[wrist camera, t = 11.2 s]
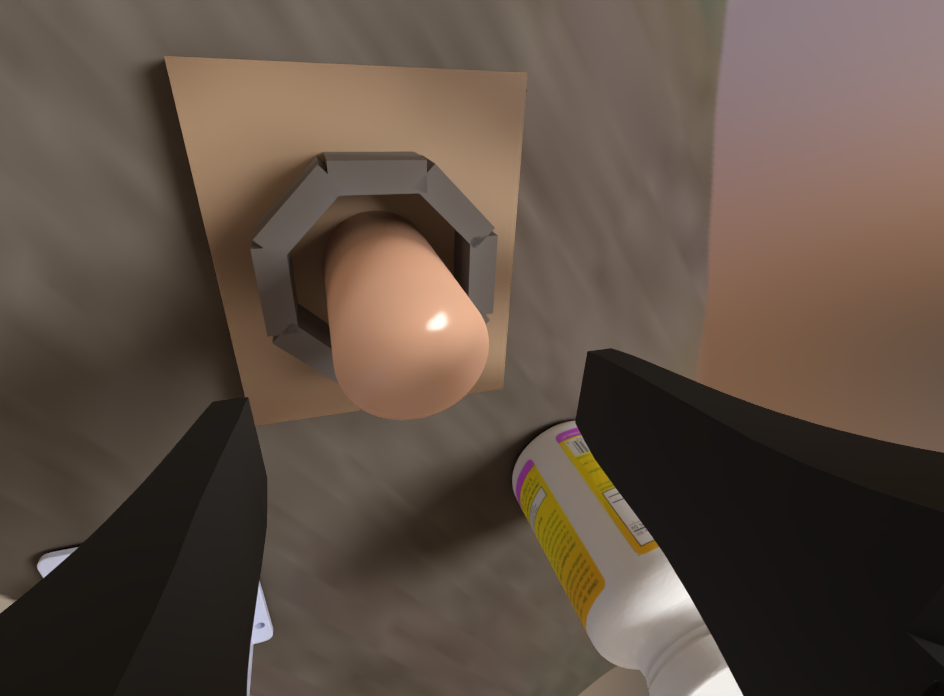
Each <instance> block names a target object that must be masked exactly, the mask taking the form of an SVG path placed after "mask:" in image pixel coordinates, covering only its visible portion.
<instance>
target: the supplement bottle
mask: <svg viewBox="0 0 944 696" xmlns="http://www.w3.org/2000/svg"><path fill="white" fill-rule="evenodd" d="M512 486H513V491H514V494H515V496H516V499H517V501H518V503H519V505H520V507H521V509H522V511H523V513H524V514H525V516H526V518H527V520H528V522H529V524H530V526H531V528H532V530H533V532H534V533H535V535H536V537H537V539H538V541H539V543H540V545H541V547H542V549H543V550H544V552H545V554H546V556H547V558H548V560H549V562H550V564H551V566H552V567H553V570H554V572H555V573H556V575H557V577H558V579H559V581H560V583H561V585H562V587H563V588H564V590H565V592H566V594H567V596H568V598H569V600H570V602H571V603H572V605H573V607H574V609H575V611H576V613H577V615H578V617H579V619H580V621H581V623H582V625H583V627H584V628H585V630H586V632H587V634H588V636H589V638H590V639H591V641H592V643H593V645H594V646H595V648H596V649H597V651H598V652H599V653H600V654H601V655H602V656H603V657H604V658H605V659H607V660H608V661H609V662H611V663H613V664H615V665H617V666H620V667H623V668H628V669H640V670H641V672H642V673H643V675H644V676H645V678H646V679H647V681H646V683H647V687H648V689H649V696H743V694H742V692H741V690H740V689H739V687H738V685H737V683H736V681H735V679H734V677H733V675H732V673H731V671H730V669H729V667H728V665H727V663H726V662H725V660H724V658H723V656H722V654H721V652H720V650H719V648H718V646H717V644H716V642H715V640H714V639H713V637H712V635H711V633H710V632H709V630H708V628H707V626H706V624H705V623H704V621H703V619H702V617H701V616H700V614H699V612H698V610H697V608H696V607H695V605H694V603H693V601H692V599H691V598H690V596H689V594H688V593H687V591H686V589H685V588H684V586H683V584H682V583H681V581H680V579H679V578H678V576H677V574H676V573H675V571H674V569H673V568H672V566H671V564H670V563H669V561H668V559H667V558H666V556H665V555H664V553H663V552H662V550H661V549H660V547H659V546H658V544H657V543H656V542H655V540H654V539H653V537H652V536H651V535H650V533H649V532H648V530H647V529H646V528H645V526H644V525H643V524H642V522H641V521H640V520H639V518H638V517H637V516H636V514H635V513H634V512H633V510H632V509H631V508H630V506H629V505H628V504H627V502H626V501H625V500H624V498H623V497H622V496H621V494H620V493H619V492H618V490H617V489H616V488H615V486H614V485H613V484H612V482H611V481H610V480H609V478H608V477H607V476H606V474H605V473H604V471H603V470H602V469H601V467H600V466H599V465H598V463H597V462H596V460H595V459H594V457H593V455H592V454H591V452H590V450H589V448H588V447H587V445H586V443H585V441H584V439H583V437H582V435H581V433H580V431H579V430H578V428H577V426H576V424H575V421H569V422H564V423H561V424H558V425H556V426H553V427H551V428H549V429H548V430H546V431H544V432H543V433H541V434H540V435H539V436H537V437H536V438H535V439H534V440H533V441H531V442H530V443H529V445H528V446H527V447H526V448H525V449H524V450H523V452H522V453H521V455H520V456H519V458H518V460H517V462H516V464H515V467H514V470H513V475H512Z"/></svg>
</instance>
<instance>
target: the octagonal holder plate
mask: <svg viewBox="0 0 944 696" xmlns="http://www.w3.org/2000/svg"><path fill="white" fill-rule="evenodd" d="M164 58H165V63H166V67H167V71H168V75H169V79H170V84H171V88H172V92H173V96H174V100H175V105H176V109H177V113H178V117H179V121H180V126H181V130H182V134H183V138H184V143H185V147H186V151H187V155H188V159H189V164H190V168H191V172H192V176H193V180H194V185H195V189H196V193H197V197H198V201H199V206H200V210H201V214H202V218H203V222H204V227H205V231H206V235H207V239H208V243H209V248H210V252H211V256H212V260H213V264H214V269H215V273H216V277H217V281H218V285H219V290H220V294H221V298H222V302H223V306H224V311H225V315H226V319H227V323H228V327H229V332H230V336H231V340H232V344H233V349H234V353H235V357H236V361H237V365H238V370H239V374H240V378H241V382H242V386H243V391H244V395H245V397H248V398H249V402H250V406H251V411H252V415H253V419H254V424H255V426H259V425H266V424H272V423H279V422H286V421H292V420H299V419H306V418H312V417H319V416H325V415H332V414H339V413H345V412H352V411H359V410H362V409H361V408H360V407H358V406H357V405H355V404H354V403H353V402H352V401H351V400H350V399H349V398H348V397H347V396H346V394H345V393H344V392H343V390H342V389H341V387H340V385H339V383H338V380H337V378H336V375H335V370H334V364H333V355H332V346H331V337H330V328H329V319H328V310H327V301H326V292H325V283H324V274H323V262H322V261H323V253H324V248H325V246H326V243H327V241H328V239H329V237H330V235H331V234H332V233H333V231H334V230H335V229H336V228H337V227H338V226H339V225H340V224H341V223H342V222H344V221H345V220H346V219H348V218H350V217H352V216H354V215H357V214H359V213H363V212H367V211H386V212H391V213H394V214H397V215H400V216H402V217H404V218H405V219H407V220H409V221H410V222H411V223H412V224H414V225H415V226H416V227H417V228H418V230H419V231H420V232H421V233H422V235H423V236H424V238H425V239H426V240H427V242H428V243H429V244H430V246H431V247H432V248H433V250H434V251H435V252H436V254H437V255H438V257H439V258H440V259H441V261H442V262H443V263H444V265H445V266H446V267H447V269H448V270H449V271H450V273H451V274H452V275H453V277H454V278H455V280H456V281H457V282H458V284H459V285H460V286H461V288H462V289H463V290H464V292H465V293H466V294H467V296H468V297H469V298H470V300H471V301H472V303H473V304H474V305H475V307H476V308H477V309H478V311H479V312H480V314H481V315H482V317H483V319H484V321H485V324H486V327H487V331H488V337H489V351H488V357H487V361H486V364H485V367H484V369H483V372H482V374H481V375H480V377H479V379H478V381H477V382H476V383H475V385H474V386H473V387H472V389H471V390H470V391H469V392H468V393H467V394H472V393H478V392H485V391H492V390H498V389H503V381H504V368H505V355H506V343H507V330H508V317H509V304H510V291H511V279H512V266H513V253H514V240H515V227H516V215H517V202H518V189H519V176H520V163H521V151H522V138H523V125H524V112H525V99H526V87H527V74H528V73H522V72H501V71H479V70H457V69H435V68H414V67H392V66H370V65H348V64H327V63H305V62H283V61H261V60H239V59H218V58H196V57H174V56H164Z"/></svg>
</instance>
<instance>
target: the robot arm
mask: <svg viewBox="0 0 944 696" xmlns="http://www.w3.org/2000/svg"><path fill="white" fill-rule="evenodd" d="M575 424H576V426H577V428H578V430H579V431H580V433H581V435H582V437H583V439H584V441H585V443H586V445H587V447H588V448H589V450H590V452H591V454H592V455H593V457H594V459H595V460H596V462H597V463H598V465H599V466H600V467H601V469H602V470H603V471H604V473H605V474H606V476H607V477H608V478H609V480H610V481H611V482H612V484H613V485H614V486H615V488H616V489H617V490H618V492H619V493H620V494H621V496H622V497H623V498H624V500H625V501H626V502H627V504H628V505H629V506H630V508H631V509H632V510H633V512H634V513H635V514H636V516H637V517H638V518H639V520H640V521H641V522H642V524H643V525H644V526H645V528H646V529H647V530H648V532H649V533H650V535H651V536H652V537H653V539H654V540H655V542H656V543H657V544H658V546H659V547H660V549H661V550H662V552H663V553H664V555H665V556H666V558H667V559H668V561H669V563H670V564H671V566H672V568H673V569H674V571H675V573H676V574H677V576H678V578H679V579H680V581H681V583H682V584H683V586H684V588H685V589H686V591H687V593H688V594H689V596H690V598H691V599H692V601H693V603H694V605H695V607H696V608H697V610H698V612H699V614H700V616H701V617H702V619H703V621H704V623H705V624H706V626H707V628H708V630H709V632H710V633H711V635H712V637H713V639H714V640H715V642H716V644H717V646H718V648H719V650H720V652H721V654H722V656H723V658H724V660H725V662H726V663H727V665H728V667H729V669H730V671H731V673H732V675H733V677H734V679H735V681H736V683H737V685H738V687H739V689H740V690H741V692H742V694H743V696H944V453H941V452H936V451H931V450H925V449H920V448H914V447H910V446H905V445H900V444H895V443H891V442H885V441H881V440H877V439H873V438H869V437H865V436H860V435H856V434H852V433H848V432H844V431H840V430H836V429H833V428H829V427H825V426H822V425H818V424H814V423H811V422H807V421H805V420H801V419H798V418H794V417H791V416H788V415H785V414H781V413H778V412H775V411H772V410H769V409H766V408H763V407H761V406H758V405H755V404H752V403H750V402H747V401H744V400H741V399H739V398H736V397H733V396H730V395H728V394H725V393H722V392H720V391H718V390H715V389H713V388H710V387H708V386H705V385H703V384H700V383H698V382H695V381H693V380H691V379H688V378H686V377H683V376H681V375H679V374H676V373H674V372H671V371H669V370H667V369H664V368H662V367H659V366H657V365H655V364H652V363H650V362H647V361H645V360H642V359H640V358H637V357H635V356H632V355H630V354H627V353H624V352H621V351H618V350H614V349H611V348H610V349H603V350H595V351H588V352H587V357H586V363H585V369H584V375H583V380H582V386H581V392H580V398H579V403H578V409H577V415H576V421H575ZM266 528H267V475H266V471H265V466H264V462H263V458H262V454H261V449H260V445H259V441H258V436H257V432H256V428H255V424H254V419H253V415H252V411H251V406H250V402H249V398H248V397H245V398H237V399H230V400H223V401H215V402H212V403H211V404H210V406H209V407H208V408H207V409H206V410H205V411H204V412H203V413H202V415H201V416H200V417H199V418H198V419H197V421H196V422H195V423H194V424H193V425H192V427H191V428H190V429H189V430H188V431H187V433H186V434H185V435H184V436H183V437H182V439H181V440H180V441H179V442H178V443H177V444H176V446H175V447H174V448H173V449H172V450H171V452H170V453H169V454H168V455H167V456H166V457H165V458H164V459H163V461H162V462H161V463H160V464H159V465H158V466H157V467H156V468H155V470H154V471H153V472H152V473H151V474H150V475H149V476H148V478H147V479H146V480H145V481H144V482H143V483H142V484H141V485H140V486H139V487H138V488H137V490H136V491H135V492H134V493H133V494H132V495H131V496H130V497H129V498H128V499H127V500H126V501H125V502H124V503H123V504H122V505H121V506H120V507H119V508H118V509H117V510H116V511H115V512H114V513H113V514H112V515H111V516H110V517H109V518H108V519H107V520H106V521H105V522H104V523H103V524H102V525H101V526H100V527H99V528H98V529H97V530H96V531H95V532H94V533H93V534H92V535H91V536H90V537H89V538H88V539H87V540H86V541H85V542H83V543H82V544H81V545H80V546H79V547H75V548H70V549H65V550H60V551H55V552H50V553H47V554H44V555H43V556H42V557H41V558H40V560H39V562H38V564H37V569H38V571H39V572H40V574H41V576H42V577H43V579H42V580H41V581H40V582H38V583H37V584H36V585H35V586H34V587H33V588H31V589H30V590H29V591H28V592H27V593H25V594H24V595H23V596H22V597H21V598H19V599H18V600H17V601H16V602H14V603H13V604H12V605H10V606H9V607H8V608H7V609H5V610H4V611H3V612H2V613H0V696H249V693H250V681H251V668H252V656H253V644H256V643H260V642H263V641H266V640H268V639H270V638H271V637H272V635H273V626H272V622H271V619H270V615H269V612H268V608H267V605H266V601H265V598H264V594H263V591H262V587H261V584H260V573H261V566H262V559H263V551H264V544H265V536H266Z"/></svg>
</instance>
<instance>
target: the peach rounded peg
mask: <svg viewBox="0 0 944 696" xmlns="http://www.w3.org/2000/svg"><path fill="white" fill-rule="evenodd" d="M322 262H323V274H324V283H325V292H326V301H327V310H328V319H329V328H330V337H331V346H332V355H333V364H334V370H335V375H336V378H337V380H338V383H339V385H340V387H341V389H342V390H343V392H344V393H345V394H346V396H347V397H348V398H349V399H350V400H351V401H352V402H353V403H354V404H355V405H357V406H358V407H360V408H361V409H362V410H364V411H366V412H368V413H370V414H373V415H376V416H378V417H382V418H386V419H393V420H412V419H419V418H424V417H428V416H431V415H434V414H436V413H439V412H441V411H443V410H445V409H447V408H449V407H450V406H452V405H453V404H455V403H456V402H458V401H459V400H460V399H461V398H463V397H464V396H465V395H466V394H467V393H468V392H469V391H470V390H471V389H472V387H473V386H474V385H475V383H476V382H477V381H478V379H479V377H480V375H481V374H482V372H483V369H484V367H485V364H486V361H487V357H488V351H489V337H488V331H487V327H486V324H485V321H484V319H483V317H482V315H481V314H480V312H479V311H478V309H477V308H476V307H475V305H474V304H473V303H472V301H471V300H470V298H469V297H468V296H467V294H466V293H465V292H464V290H463V289H462V288H461V286H460V285H459V284H458V282H457V281H456V280H455V278H454V277H453V275H452V274H451V273H450V271H449V270H448V269H447V267H446V266H445V265H444V263H443V262H442V261H441V259H440V258H439V257H438V255H437V254H436V252H435V251H434V250H433V248H432V247H431V246H430V244H429V243H428V242H427V240H426V239H425V238H424V236H423V235H422V233H421V232H420V231H419V230H418V228H417V227H416V226H415V225H414V224H412V223H411V222H410V221H409V220H407V219H405V218H404V217H402V216H400V215H397V214H394V213H391V212H386V211H367V212H363V213H359V214H357V215H354V216H352V217H350V218H348V219H346V220H345V221H344V222H342V223H341V224H340V225H339V226H338V227H337V228H336V229H335V230H334V231H333V233H332V234H331V235H330V237H329V239H328V241H327V243H326V246H325V248H324V253H323V261H322Z"/></svg>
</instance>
